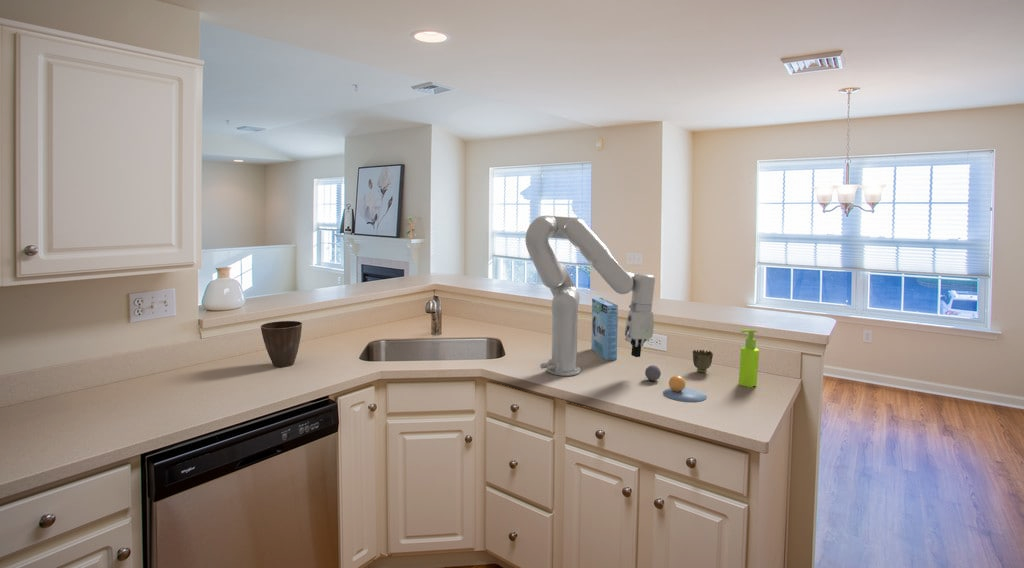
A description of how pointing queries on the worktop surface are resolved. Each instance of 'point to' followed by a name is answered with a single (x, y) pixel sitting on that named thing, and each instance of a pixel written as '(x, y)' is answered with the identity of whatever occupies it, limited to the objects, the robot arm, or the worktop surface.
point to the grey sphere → (652, 373)
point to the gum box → (604, 328)
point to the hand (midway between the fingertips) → (635, 356)
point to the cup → (702, 360)
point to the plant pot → (282, 341)
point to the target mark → (685, 395)
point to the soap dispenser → (749, 361)
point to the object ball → (677, 383)
